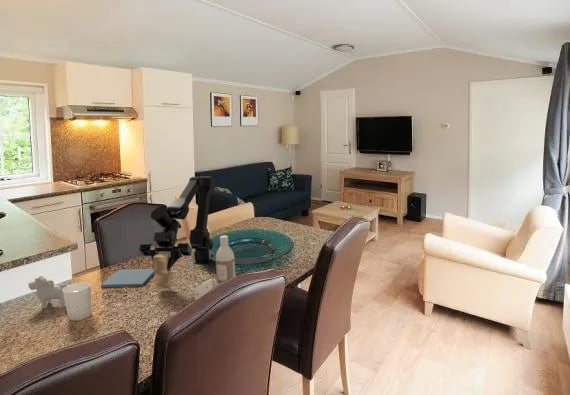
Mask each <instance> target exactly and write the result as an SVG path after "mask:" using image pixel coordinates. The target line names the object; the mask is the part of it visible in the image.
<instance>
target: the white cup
mask: <svg viewBox="0 0 570 395" xmlns="http://www.w3.org/2000/svg"><path fill="white" fill-rule="evenodd" d="M91 288H92V287H91V284H90V283H89V282H87V281H86V282H85V281H83V282H82V281H81V282H75V283H72V284H68V285H67V286H66V287H64V288H63V295H64V301H65V309H66V312H67V318H68V319H69V320H70V319H71V320H70V321H73V320H77V321H81V320H80V319H82V320H84V318H85V319H87V318H89V317H90V316H91V315H92V313H93V312H92V291H91V290H92V289H91Z"/></svg>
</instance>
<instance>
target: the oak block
mask: <svg viewBox="0 0 570 395" xmlns="http://www.w3.org/2000/svg"><path fill="white" fill-rule="evenodd" d="M169 258H170V252H158V253H157V254H156V255H155V256H154V257H153V261H152V264H153V263H154V280H155V289H169V288H170V287H171V285H172V284H173V282H172V281H173V280H172V273H171V272H172V271H171V269H170V270H169V271H167V266H168V262H169Z"/></svg>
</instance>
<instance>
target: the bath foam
mask: <svg viewBox="0 0 570 395" xmlns="http://www.w3.org/2000/svg"><path fill="white" fill-rule="evenodd" d="M219 242H220V247H219V248H218V249H217V251H216V254H215V268H216V269H215V271H216V273H215V274H216V284H217V285H219V284H221V283H223V282H225V281H227V280H229V279H231V278H233V277H235V278H236V265H235V264H236V263H235V260H236V259H235V254H234V251H233V250H232V248H231V247H230V246H229V236H228V235H225V234H224V235H221V236H219Z"/></svg>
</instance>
